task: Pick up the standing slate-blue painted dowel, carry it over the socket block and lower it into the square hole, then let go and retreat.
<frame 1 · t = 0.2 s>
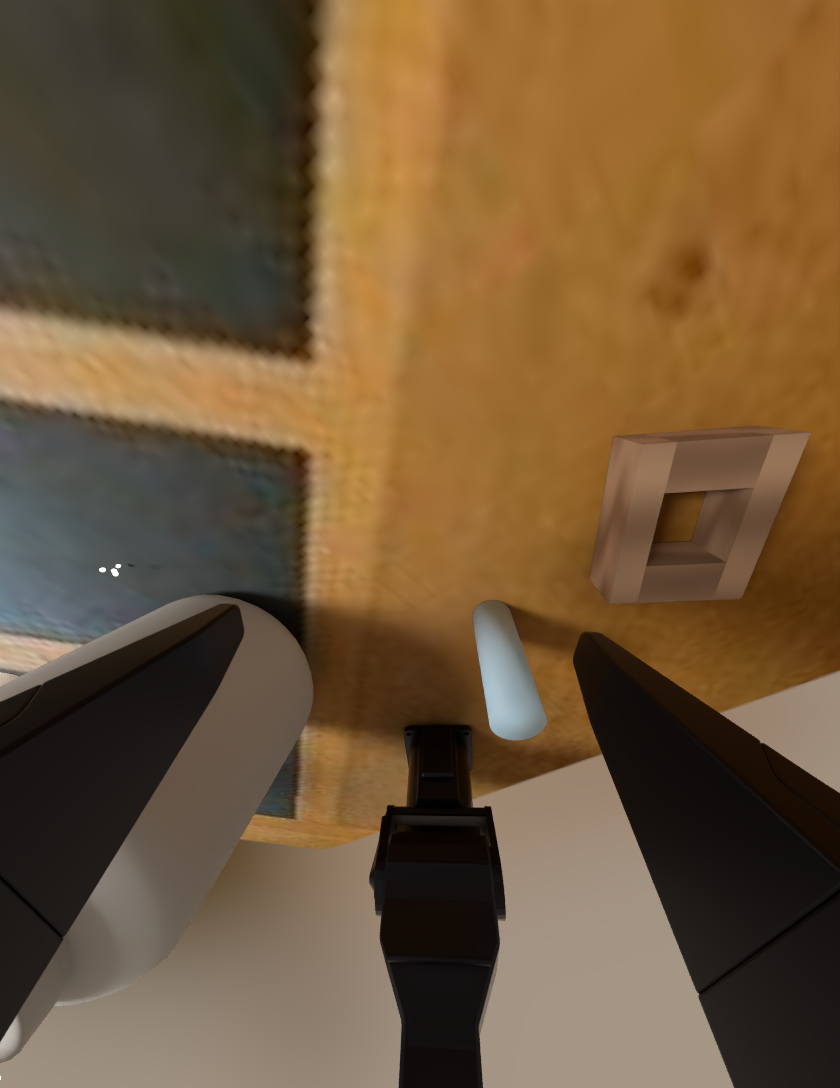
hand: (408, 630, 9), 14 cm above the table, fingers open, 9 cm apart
jar: (229, 633, 28), on the table
dowel: (491, 616, 26), on the table
socket block: (663, 511, 21), on the table
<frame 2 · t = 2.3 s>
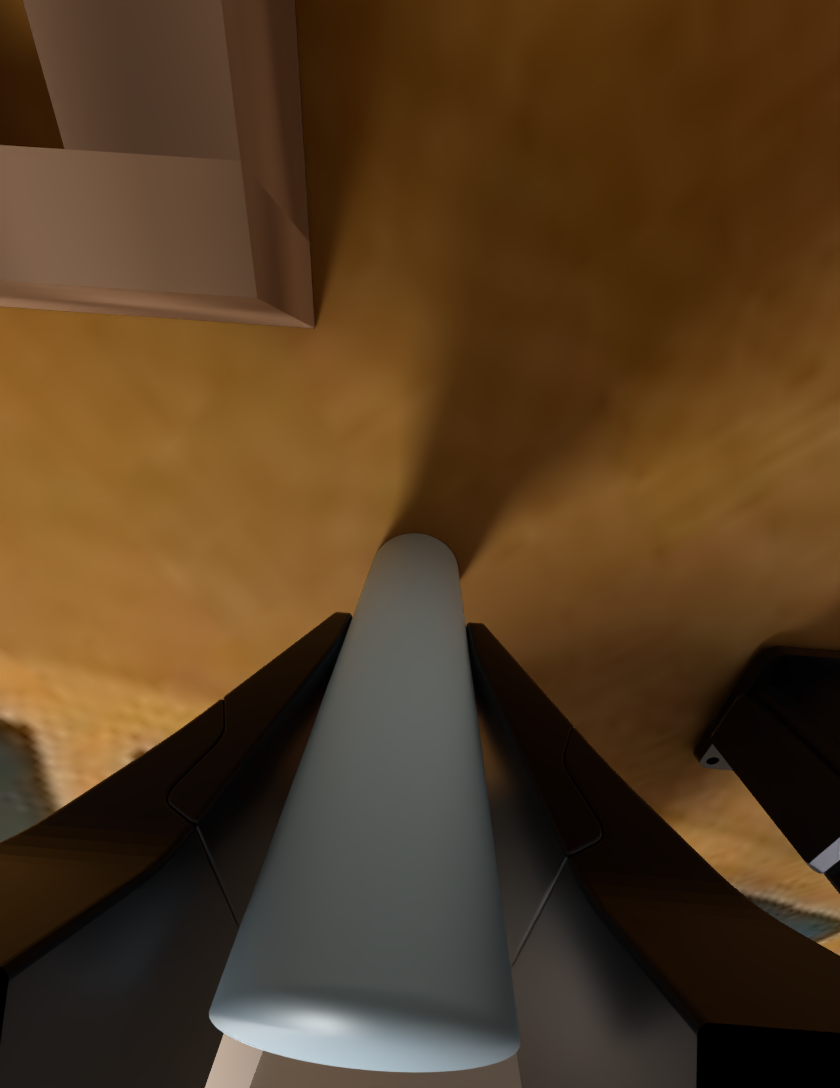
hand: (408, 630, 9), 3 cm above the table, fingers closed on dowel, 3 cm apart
jar: (410, 869, 21), on the table
dowel: (415, 572, 11), on the table, touching gripper
socket block: (59, 81, 7), on the table
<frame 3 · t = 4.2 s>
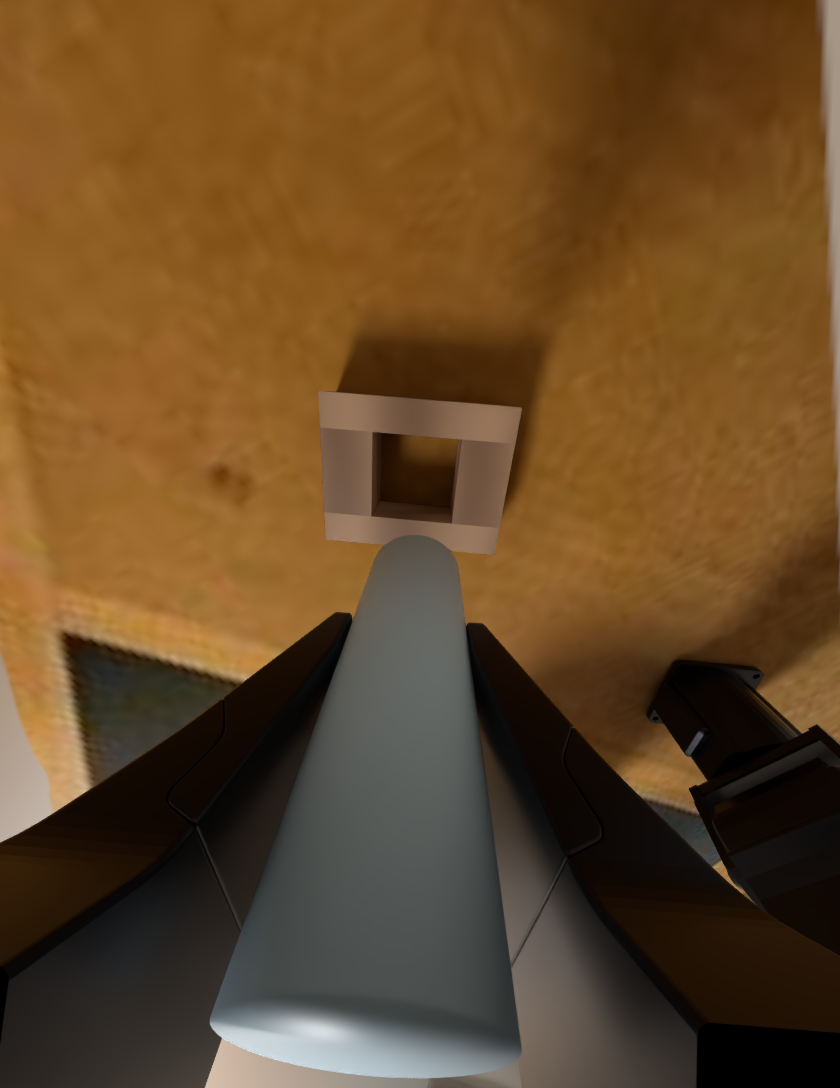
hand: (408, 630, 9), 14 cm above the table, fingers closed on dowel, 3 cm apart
jar: (481, 792, 34), on the table
dowel: (415, 574, 11), point 11 cm above the table, touching gripper
socket block: (417, 468, 20), on the table
when the fingers open (4 cm above the table, at t = 6.1 s): dowel stays where it is, resting in socket block.
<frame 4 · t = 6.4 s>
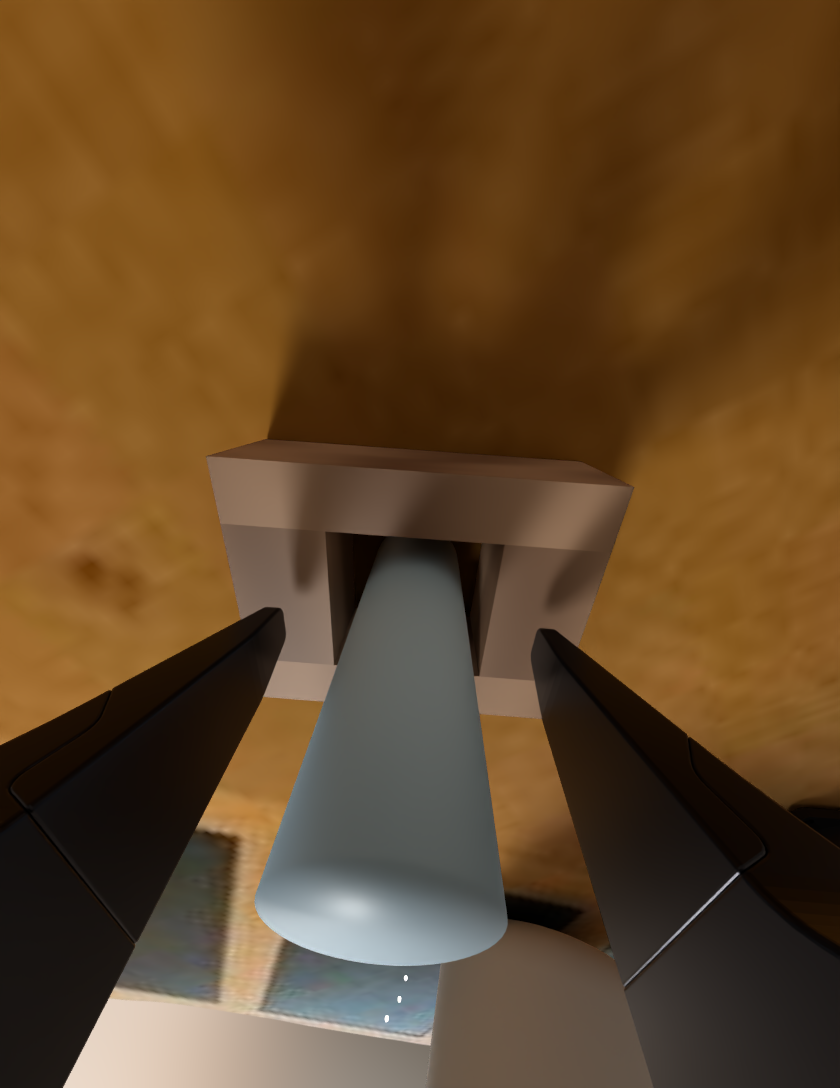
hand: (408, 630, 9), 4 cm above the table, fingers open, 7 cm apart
jar: (503, 929, 26), on the table
dowel: (417, 562, 12), resting in socket block
socket block: (415, 561, 12), on the table
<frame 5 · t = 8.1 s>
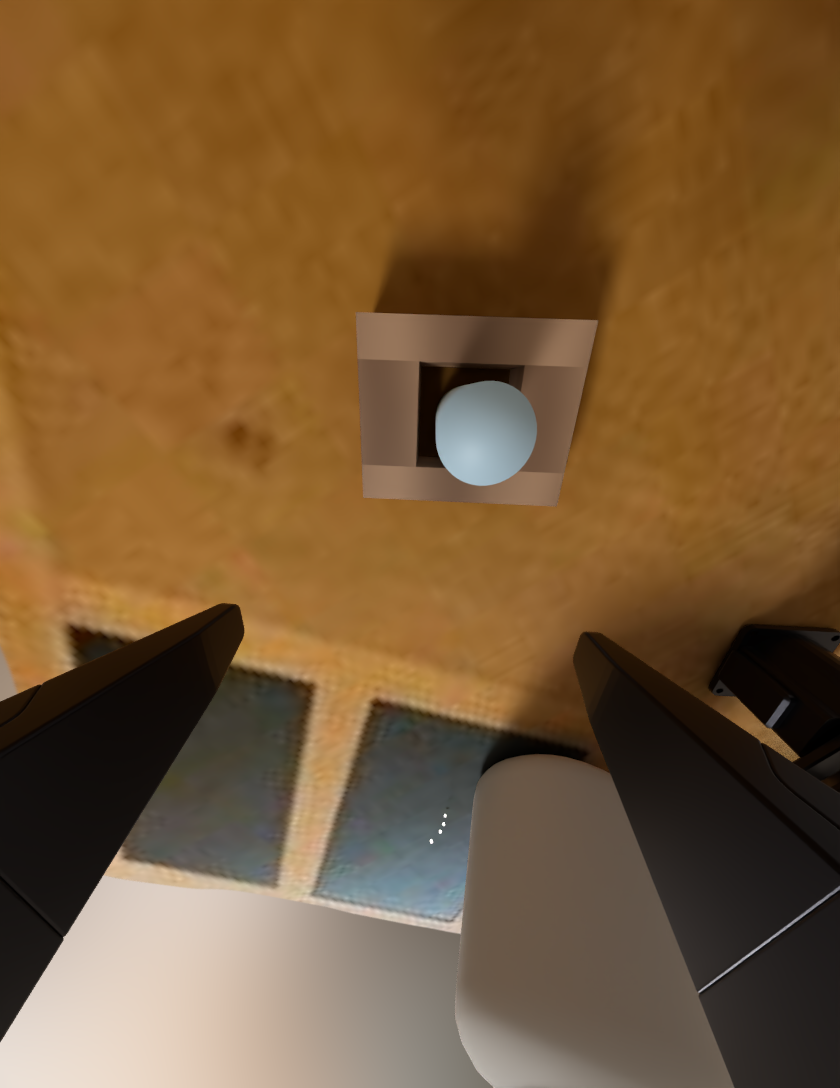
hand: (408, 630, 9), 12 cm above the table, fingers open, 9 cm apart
jar: (523, 780, 32), on the table
dowel: (462, 416, 18), resting in socket block
socket block: (461, 415, 18), on the table
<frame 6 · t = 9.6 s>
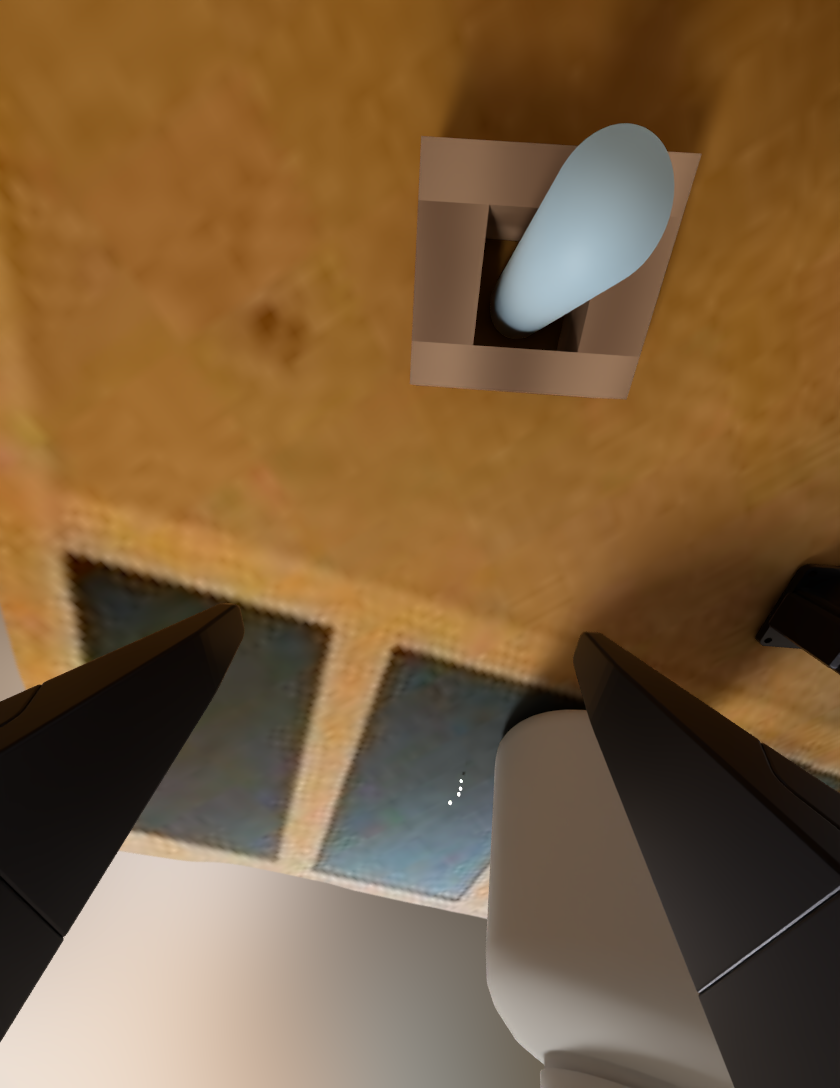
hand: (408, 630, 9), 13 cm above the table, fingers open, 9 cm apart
jar: (546, 742, 30), on the table
dowel: (520, 303, 16), resting in socket block
socket block: (519, 302, 16), on the table
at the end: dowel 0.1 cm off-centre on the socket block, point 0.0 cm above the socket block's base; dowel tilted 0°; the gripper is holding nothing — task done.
